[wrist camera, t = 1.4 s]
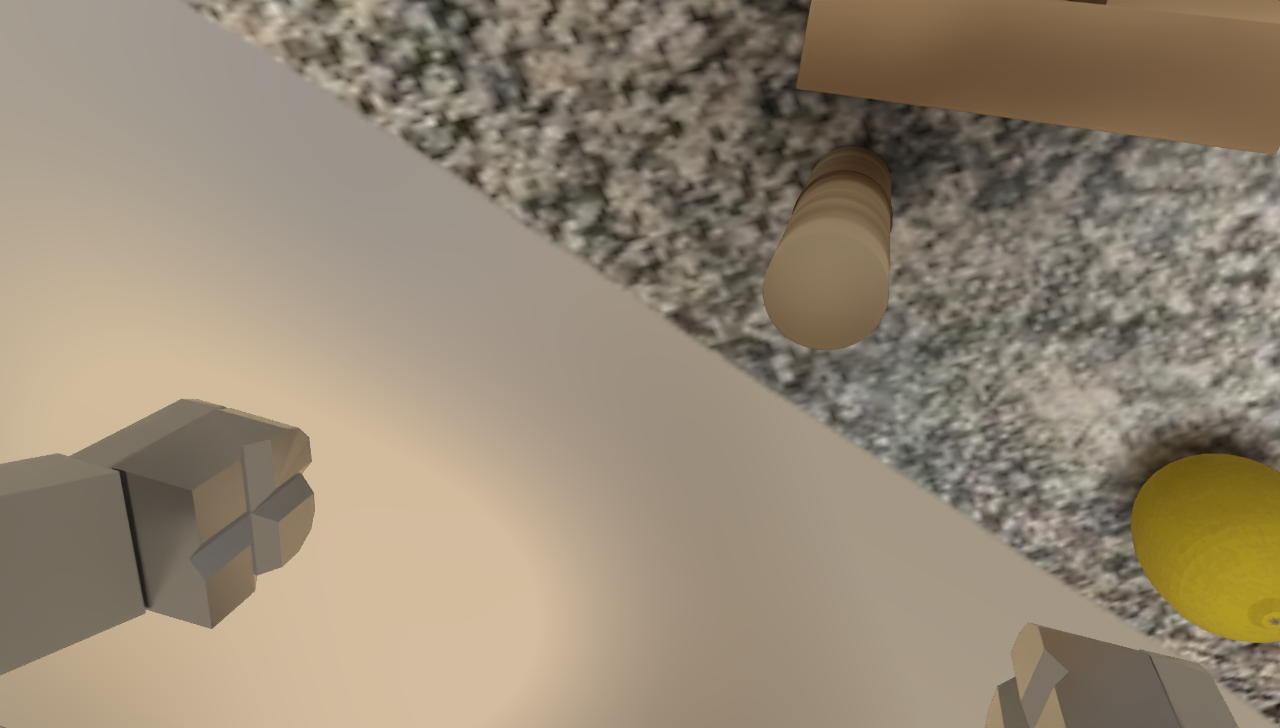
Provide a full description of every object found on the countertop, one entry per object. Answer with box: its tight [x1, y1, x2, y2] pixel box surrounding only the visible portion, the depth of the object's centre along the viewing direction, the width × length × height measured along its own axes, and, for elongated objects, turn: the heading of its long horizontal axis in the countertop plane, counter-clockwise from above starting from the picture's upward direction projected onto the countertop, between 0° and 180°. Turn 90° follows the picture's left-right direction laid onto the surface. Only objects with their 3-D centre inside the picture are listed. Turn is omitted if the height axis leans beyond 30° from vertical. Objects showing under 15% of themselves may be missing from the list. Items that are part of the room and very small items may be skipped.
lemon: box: [1131, 454, 1280, 643], centre depth 27 cm, size 6×6×8 cm
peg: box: [763, 146, 893, 350], centre depth 24 cm, size 3×3×12 cm
